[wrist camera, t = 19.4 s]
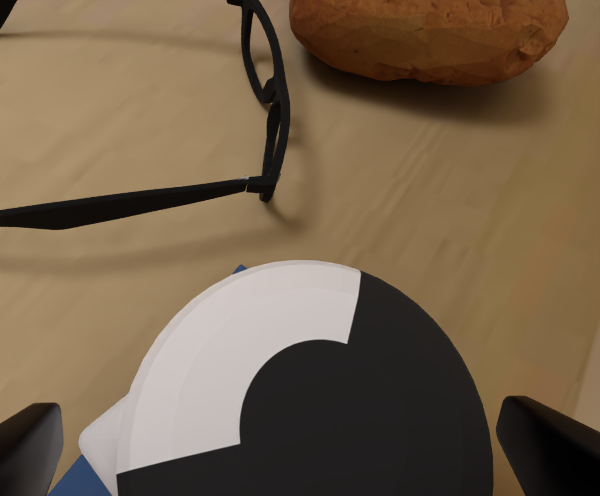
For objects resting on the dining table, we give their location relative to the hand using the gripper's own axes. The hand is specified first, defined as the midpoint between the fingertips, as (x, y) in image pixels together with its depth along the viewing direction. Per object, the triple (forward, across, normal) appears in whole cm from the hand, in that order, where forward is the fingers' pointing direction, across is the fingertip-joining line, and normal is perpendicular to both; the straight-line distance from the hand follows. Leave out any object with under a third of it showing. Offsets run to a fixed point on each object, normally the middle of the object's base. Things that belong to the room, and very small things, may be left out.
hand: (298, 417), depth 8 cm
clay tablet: (+29, -10, -14) cm, 34 cm away
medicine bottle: (+7, 0, +7) cm, 10 cm away
